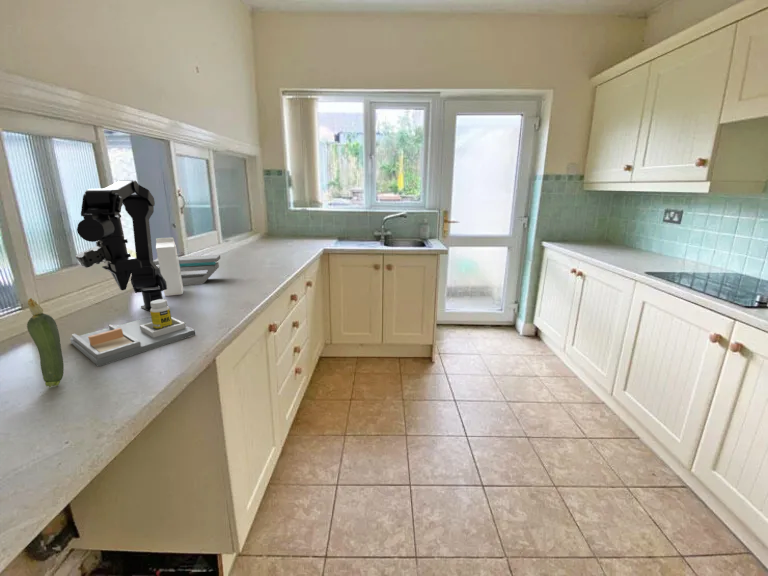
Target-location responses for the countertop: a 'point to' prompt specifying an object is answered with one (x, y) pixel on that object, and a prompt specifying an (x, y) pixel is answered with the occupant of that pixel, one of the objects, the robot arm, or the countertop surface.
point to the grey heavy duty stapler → (196, 268)
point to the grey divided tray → (133, 339)
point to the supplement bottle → (160, 314)
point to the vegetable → (46, 344)
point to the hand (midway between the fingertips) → (123, 289)
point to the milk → (169, 265)
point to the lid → (108, 340)
